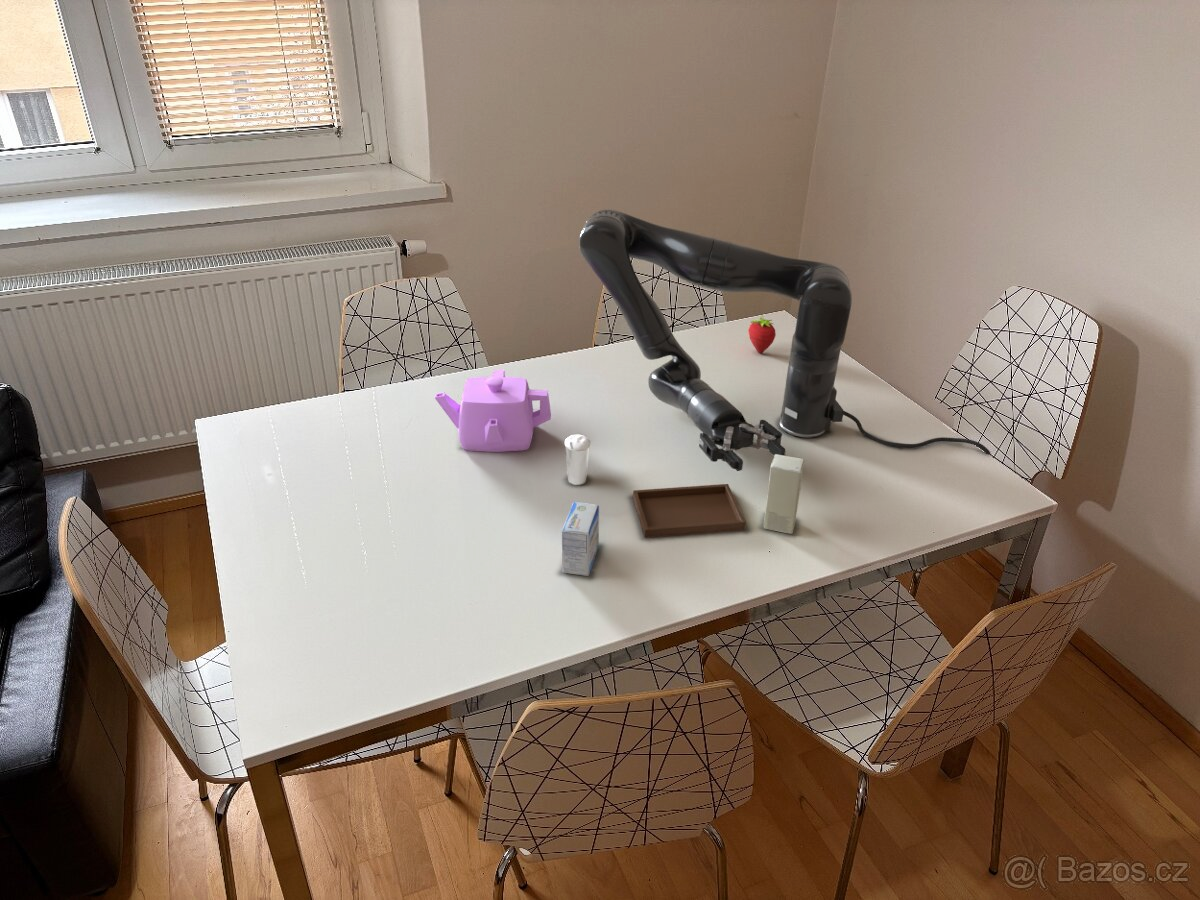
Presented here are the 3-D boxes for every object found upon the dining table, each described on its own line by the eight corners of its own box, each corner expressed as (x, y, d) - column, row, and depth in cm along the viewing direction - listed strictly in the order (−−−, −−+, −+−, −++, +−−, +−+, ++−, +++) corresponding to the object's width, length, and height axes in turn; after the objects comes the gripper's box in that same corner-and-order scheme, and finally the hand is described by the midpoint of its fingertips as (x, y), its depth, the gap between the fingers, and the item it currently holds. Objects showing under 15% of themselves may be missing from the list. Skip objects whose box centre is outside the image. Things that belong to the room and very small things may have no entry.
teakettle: (558, 435, 173) (557, 379, 167) (493, 469, 163) (490, 412, 156) (500, 405, 183) (497, 351, 176) (435, 436, 172) (430, 380, 166)
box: (796, 520, 151) (806, 458, 144) (792, 535, 148) (803, 472, 141) (765, 514, 153) (775, 452, 146) (760, 528, 149) (770, 466, 142)
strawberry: (754, 361, 202) (759, 322, 196) (741, 347, 208) (745, 308, 202) (777, 359, 203) (783, 319, 198) (764, 345, 209) (769, 306, 204)
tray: (727, 491, 158) (728, 483, 157) (744, 530, 149) (746, 522, 148) (632, 498, 156) (632, 490, 155) (644, 537, 147) (644, 529, 146)
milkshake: (558, 486, 159) (558, 439, 153) (570, 470, 163) (570, 424, 157) (581, 492, 157) (582, 445, 152) (593, 476, 161) (594, 430, 156)
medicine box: (588, 577, 138) (589, 534, 133) (561, 573, 139) (561, 530, 134) (599, 546, 144) (600, 504, 140) (572, 542, 145) (572, 500, 140)
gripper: (683, 406, 160) (728, 451, 147) (750, 392, 164) (799, 434, 152) (680, 441, 164) (724, 488, 151) (745, 426, 169) (793, 470, 156)
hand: (762, 461), depth 152 cm, fingers open, 8 cm apart
